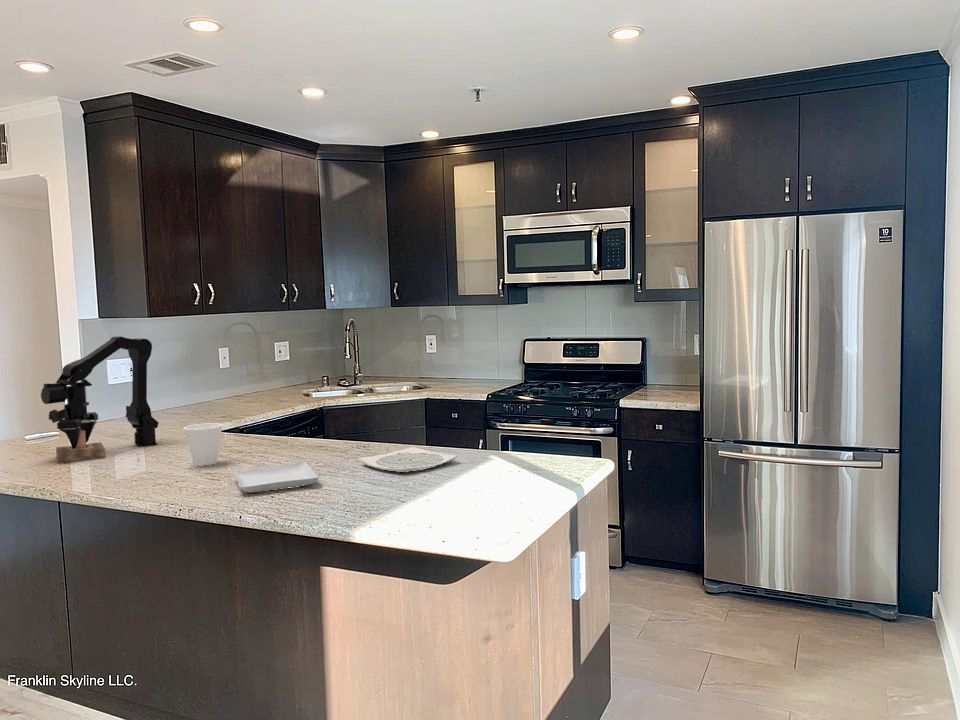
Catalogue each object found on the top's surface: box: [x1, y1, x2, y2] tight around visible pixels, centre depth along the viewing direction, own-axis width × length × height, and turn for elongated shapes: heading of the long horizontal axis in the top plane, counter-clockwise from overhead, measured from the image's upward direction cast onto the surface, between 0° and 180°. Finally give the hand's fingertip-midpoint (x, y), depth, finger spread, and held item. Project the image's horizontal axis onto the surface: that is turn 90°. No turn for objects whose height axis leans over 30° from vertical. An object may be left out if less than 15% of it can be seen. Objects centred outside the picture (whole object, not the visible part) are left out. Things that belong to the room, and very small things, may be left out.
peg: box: [74, 430, 87, 449], centre depth 246 cm, size 4×4×9 cm
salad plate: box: [232, 461, 320, 494], centre depth 202 cm, size 21×21×3 cm
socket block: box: [55, 441, 106, 464], centre depth 246 cm, size 14×14×4 cm
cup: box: [183, 422, 223, 467], centre depth 229 cm, size 12×12×12 cm
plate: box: [358, 446, 458, 473], centre depth 222 cm, size 24×24×3 cm
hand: (80, 445), depth 246 cm, fingers open, 9 cm apart
